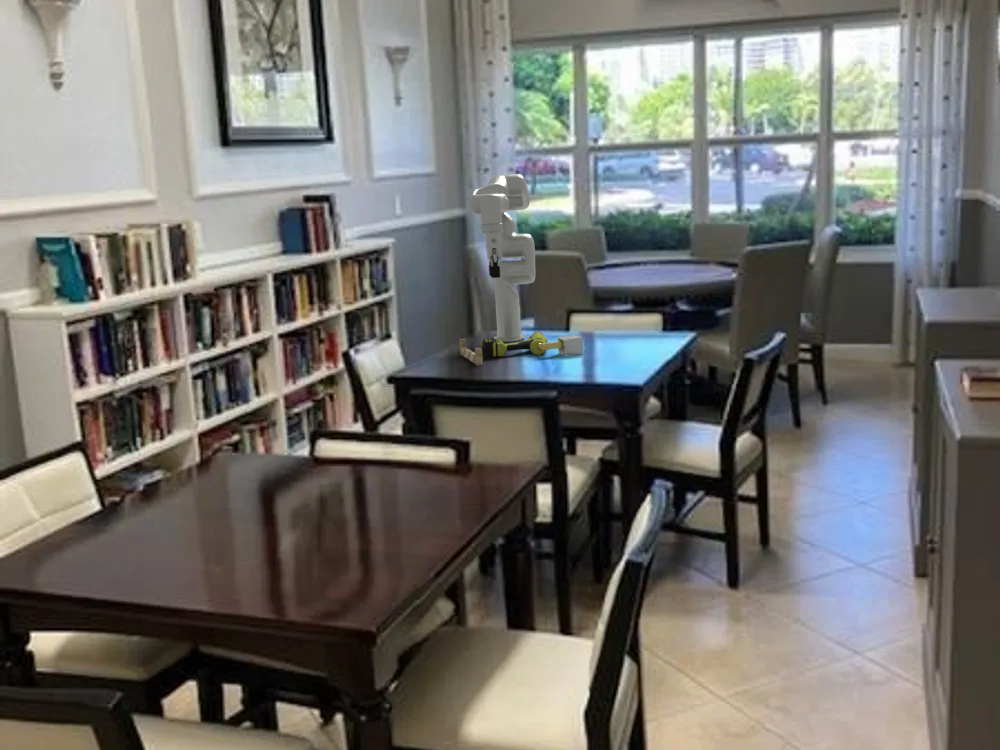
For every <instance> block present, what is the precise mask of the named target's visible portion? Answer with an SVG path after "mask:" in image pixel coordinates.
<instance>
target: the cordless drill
mask: <svg viewBox="0 0 1000 750" xmlns="http://www.w3.org/2000/svg"><path fill="white" fill-rule="evenodd" d="M548 342H549V341H548V338H547V337H546V335H544V334H543V332H540V331H534V332H533V333H532V334H531V336H529V337H527V339H523V340H520V341H515V342H508V343H505V342H502V341H501V340H500V339H494V337H486V338H482V339H481V340H480V346H481V347H480V348H482V358H483V359H484V360H491V359H494V358H495V357H497V358H498V357H499V358H500V357H503V356H504V355H505V353H506V352H512V351H518V350H519V351H520V350H529V351H531V353H532V354H534V355H536V356H540V355H543V354H544V353H545V352H546V351H547V350H541V351H538V349H537V344H538V343H548Z"/></svg>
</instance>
